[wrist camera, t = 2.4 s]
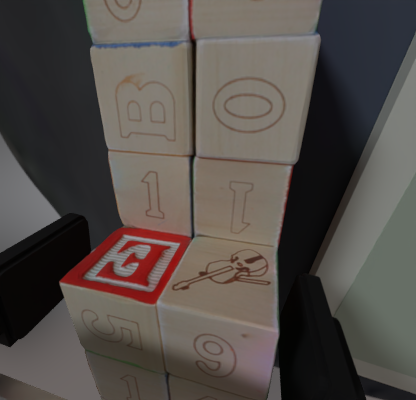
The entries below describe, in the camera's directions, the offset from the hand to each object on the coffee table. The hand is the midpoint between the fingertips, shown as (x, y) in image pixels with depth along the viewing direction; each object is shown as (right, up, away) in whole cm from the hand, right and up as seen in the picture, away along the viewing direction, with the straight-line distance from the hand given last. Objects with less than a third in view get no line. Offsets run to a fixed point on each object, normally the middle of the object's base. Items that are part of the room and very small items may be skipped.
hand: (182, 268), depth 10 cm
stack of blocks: (+3, +4, +7) cm, 9 cm away
